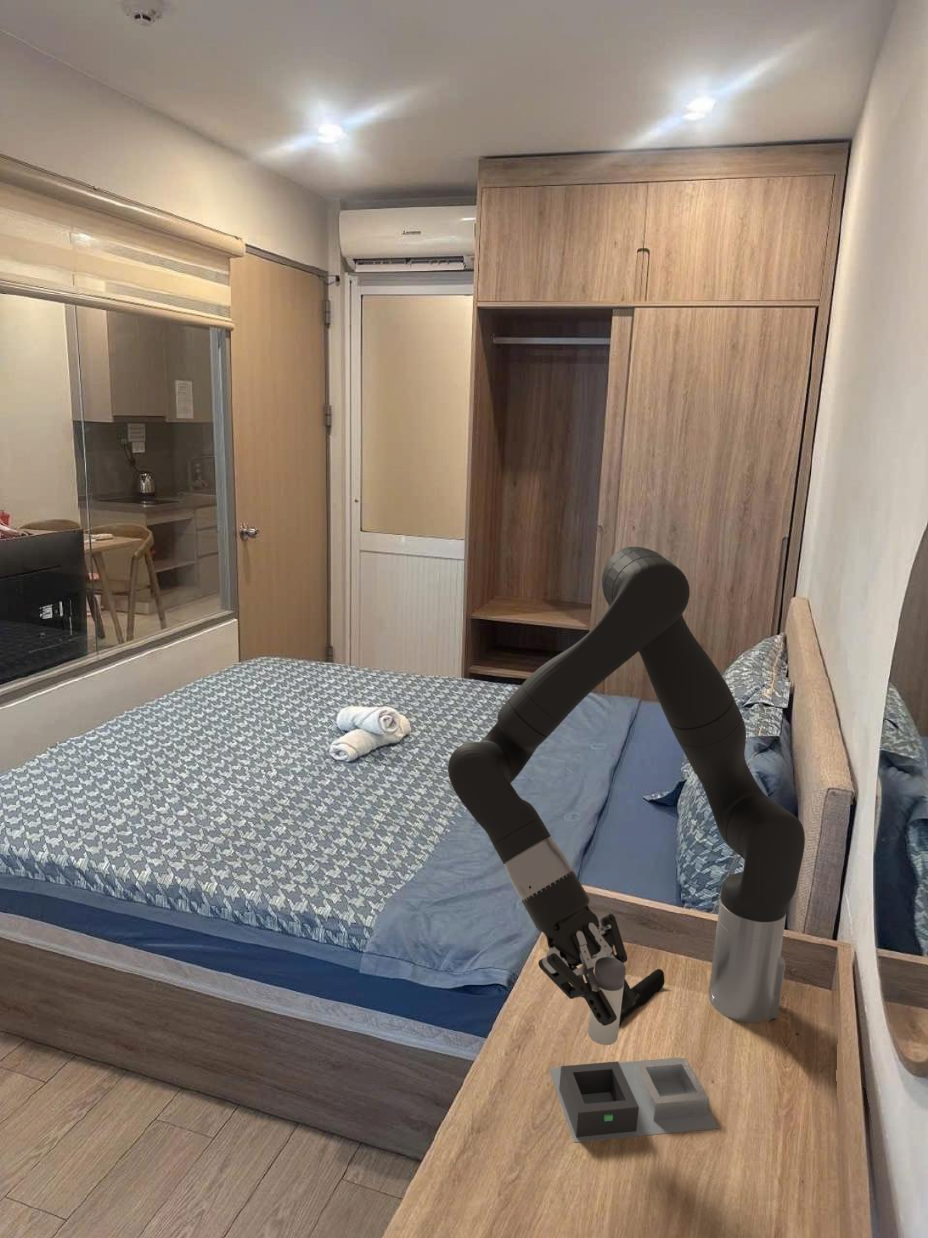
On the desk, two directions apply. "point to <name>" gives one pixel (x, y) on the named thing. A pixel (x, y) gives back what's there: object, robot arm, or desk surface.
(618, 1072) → the port
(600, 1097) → the panel
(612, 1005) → the plug
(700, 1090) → the square frame
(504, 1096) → the desk surface
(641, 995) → the electric trimmer
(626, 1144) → the desk surface
